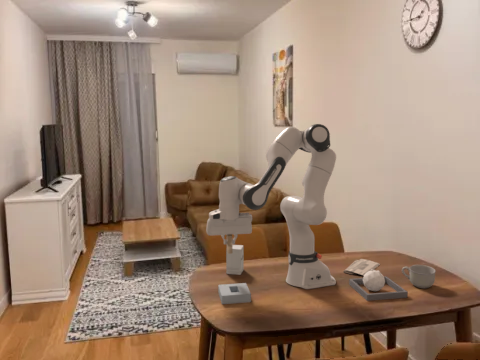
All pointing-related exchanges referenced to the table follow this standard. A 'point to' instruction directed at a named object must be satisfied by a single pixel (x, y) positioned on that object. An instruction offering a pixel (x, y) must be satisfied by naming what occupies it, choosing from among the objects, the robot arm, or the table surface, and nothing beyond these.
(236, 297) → the grey peg hole block
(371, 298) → the grey rectangular frame
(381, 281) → the decorative ball
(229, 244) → the wooden peg
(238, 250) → the supplement box
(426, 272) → the teacup
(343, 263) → the table surface
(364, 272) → the newspaper
